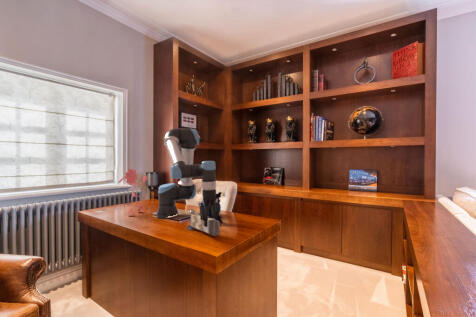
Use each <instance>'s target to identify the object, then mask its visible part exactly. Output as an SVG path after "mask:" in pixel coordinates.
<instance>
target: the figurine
mask: <svg viewBox="0 0 476 317" xmlns="http://www.w3.org/2000/svg"><path fill="white" fill-rule="evenodd" d="M136 172H137V169H133V168H128V169H127V171H126V172H125V175H124V176H123V177H122V178H120V180H119V181H118V182H117V185H119V184H120V183H121V182H122V181H123V180H124V179H125V180H126V182H125V183H126V184H129V185H130V186H133V190H132V194H131V199H130V202H132V200H133V198H135V197H138V198H140V199H139V206H138V207H137V211H138V212H140V211H141V212H142V213H144V211H143V205H142V203H141V202H142V200H141V199H142V197H141V196H140V195H137V194H136V193H135V187H136V185H141V186H143V184H144V183H145V182H146V181H147V180H148V175H144V176H143V177H142V183H140V182H139V183H138V182H137V181H138V177H137V176H138V174H137V173H136ZM149 211H150V209H149V210H148V212H149ZM131 212H132V215H133V217H135V216H136V215H135V213H134V210H133V207H130V210H129V212H127V216H129V214H130V213H131Z"/></svg>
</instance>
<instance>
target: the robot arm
mask: <svg viewBox="0 0 476 317" xmlns="http://www.w3.org/2000/svg"><path fill="white" fill-rule="evenodd" d="M163 144H164V147H165V148H167V152H168V155H169V159H170V163H171V166H170V169H169V172H170V173H169V174H170V178H171V179H177V180H178V179H179V180H178V182H177V184H176V183H174V182H170V183H165V184H161V185H160V186H158V192H157V193H158V208H157V212H156V218H157V219H161V220H162V219H168V218H166V217H168V216H173V215H176V214H178V215H179V211H178V208H177V205H176V201H177V202H178V201H189V200H193V199H194V198H195V197H196V195H197V194H196V193H197V185H196V183H195V182H194V181H193V179H195V178H201V189H202V190H201V192H202V200H201V201H200V202H198V203H197V204H198V206H199V215H200V218H201V220H203V221H204V227H205V232H204V233H207V234H209V221H208V217H209V216H208V213H209V208H211V214H212V219H215V220H216V219H217V217H219V216H220V213H219V203H221V199H220V198H219V199H216V194H217V189H216V188H217V179H216V178H217V177H216V172H217V171H216V169H217V167H216V161H214V160H204V161H202V162H201V163H198V164H196V163H195V164H194V156H195V155H194V154H195V153H194V152H195V150H196V149H197V146H199V144H200V134H199V132H198V131H197V129H194V128H176V127H175V128H171V129H169V130H167V131H166V133H165V134H164V136H163ZM204 208H205V209H204Z"/></svg>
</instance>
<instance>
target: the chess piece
mask: <svg viewBox="0 0 476 317" xmlns="http://www.w3.org/2000/svg"><path fill="white" fill-rule="evenodd" d="M222 193H223V192H222V191H219V192H218V193H216V199H220V198H221V197H222ZM208 218H211V219H212V214H211V208H209V216H208ZM216 220H218V221H219V222H220V224H223V223H224V221H223V219H222V216H221V215H219V217H217V219H216Z"/></svg>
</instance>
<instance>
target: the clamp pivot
mask: <svg viewBox="0 0 476 317" xmlns="http://www.w3.org/2000/svg"><path fill="white" fill-rule="evenodd" d="M195 212H196V211H195V209H190V210H189V213H190V225H186V230H189V231H194V230H197V229H196V228H194V227H192V215H194V214H195Z"/></svg>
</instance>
